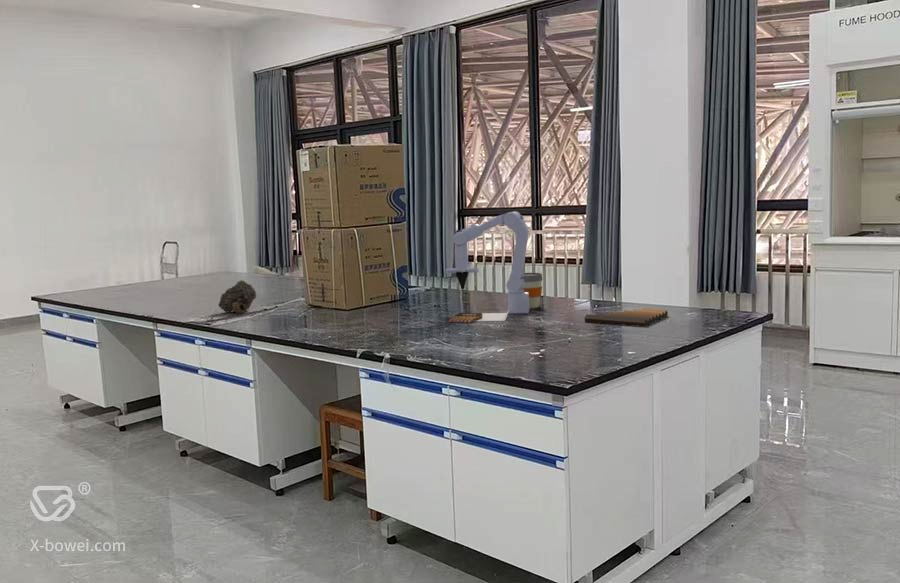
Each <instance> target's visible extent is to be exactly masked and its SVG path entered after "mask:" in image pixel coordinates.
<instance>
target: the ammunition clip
mask: <svg viewBox="0 0 900 583" xmlns="http://www.w3.org/2000/svg"><path fill="white" fill-rule="evenodd" d="M482 313H483V312H481V313H480V312H459V313H457V314H456V315H454V316H453V317H452V318H450V319H449V320H448V322H449V323H472V322H475V320H479V319H481V318H482Z"/></svg>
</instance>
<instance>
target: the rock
mask: <svg viewBox="0 0 900 583" xmlns="http://www.w3.org/2000/svg"><path fill="white" fill-rule="evenodd" d="M256 298H257V291H256V290H255V288H254V287H253V286H252V285H251V284H249V283H247V282H246V281H245V280H242V279H241V280H239V281H237V283H236V284H235V285H233V286H232V287H229V288H228V289H226V290H225V292H224V293H222V294H221V296H220V298H219V299H220V301H219V302H218V307H219V308H220V309H221V310H222V311H224V312H225V313H231V312H234V313H236V314H238V315H239V314H244V313H245V312H246V311H247V310H248V309H250V308H251V306H252V303H253V302H254V301H255V299H256Z"/></svg>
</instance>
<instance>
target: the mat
mask: <svg viewBox="0 0 900 583" xmlns="http://www.w3.org/2000/svg"><path fill="white" fill-rule="evenodd" d="M481 313H482V318H481V319H479V320H475V321H474V322H476V323H477V322H505V321H506V319H507V318H508V315H509V314H508V313H507V312H493V313H492V312H490V313H489V312H485V313H483V312H481Z"/></svg>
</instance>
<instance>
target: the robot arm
mask: <svg viewBox="0 0 900 583" xmlns="http://www.w3.org/2000/svg"><path fill="white" fill-rule="evenodd" d="M499 225H501V226H506V227H508V228H509V229H511V230H512V231H513V233H514V234H515V235H516V237H515V238H516V239H515V244H514V245H515V246H514V253H513V257H512V268H511V270H510V274H509V278H508V280H507V282H506V284H505V285H506V286H505V287H506V289H507V311H506V313H508V315H510V314H529V313H530V309H531V308H530V305H529V293H528V292H524V290H523V287H524V285H525V281H524V273H525V272H524V265H525V260H526V253H527V246H528V238H529V232H530V231H529V228H528V226H527V224H526V221H525V217H524V216H523V215H522V214H521V213H520V212H518V211H514V210H513V211H509V212H506V213H504V214H500V215H497V216H495V217H493V218H490V220H488V221H485V222H483V223H482V224H478V223H471V225H470V226H469V227H467V228H462V229H461V231H457V232H456V233H454V234H453V236H452V241H453V244H454V259H455V260H454V261H455V262H454V264H455V268H446V269H445V274H455V277H456V278H457V280H458V282H459V286H460V290H465V288H466V286H465V285H466V281H467V278H468V276H469V273H477V274H478V273H479V267H469V253H468V252H469V250H468V248H469V247H468V242H471V241H473V240H475V239H478V238H480V237H482V236H483V234H484V232H486V231H487V230H489V229H491V228H492V229H493V228H494V227H496V226H499Z"/></svg>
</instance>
